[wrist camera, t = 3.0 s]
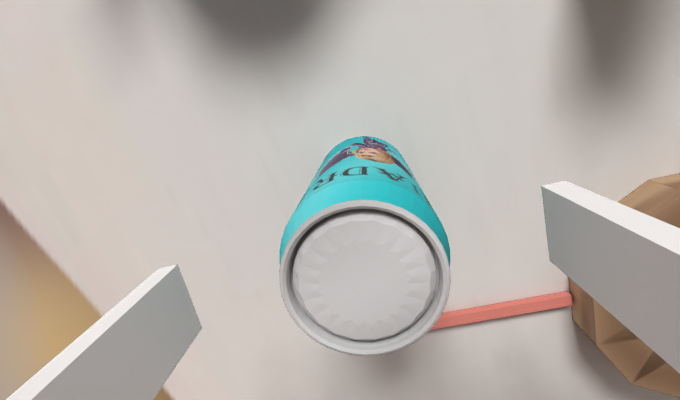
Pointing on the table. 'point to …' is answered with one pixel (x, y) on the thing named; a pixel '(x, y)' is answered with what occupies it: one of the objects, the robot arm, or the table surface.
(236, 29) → the table surface
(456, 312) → the stick
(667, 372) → the tan flat ring
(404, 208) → the beverage can
